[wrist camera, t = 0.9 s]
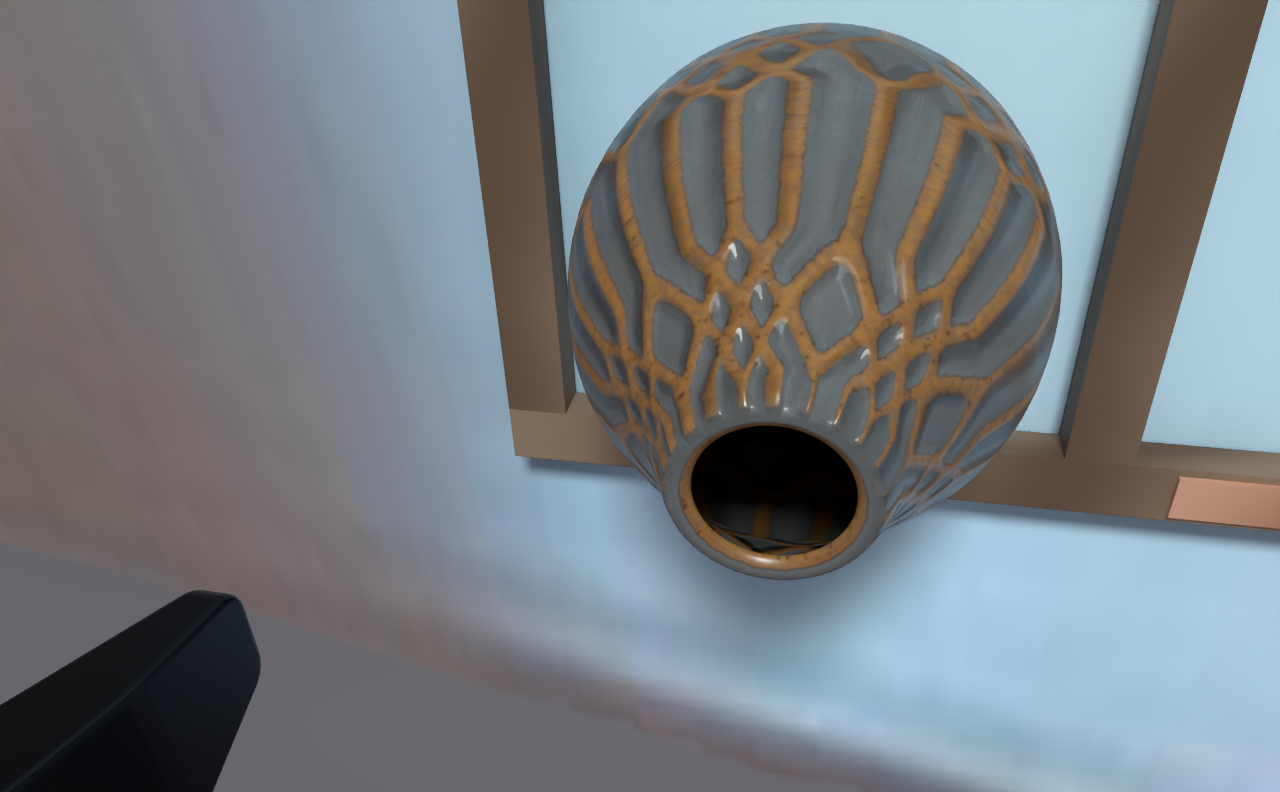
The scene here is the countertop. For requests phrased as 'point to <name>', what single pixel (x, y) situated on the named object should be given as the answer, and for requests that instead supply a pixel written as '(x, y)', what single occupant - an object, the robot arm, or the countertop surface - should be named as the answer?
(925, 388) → the vase
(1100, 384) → the rail frame
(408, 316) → the countertop surface
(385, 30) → the countertop surface
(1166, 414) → the countertop surface
